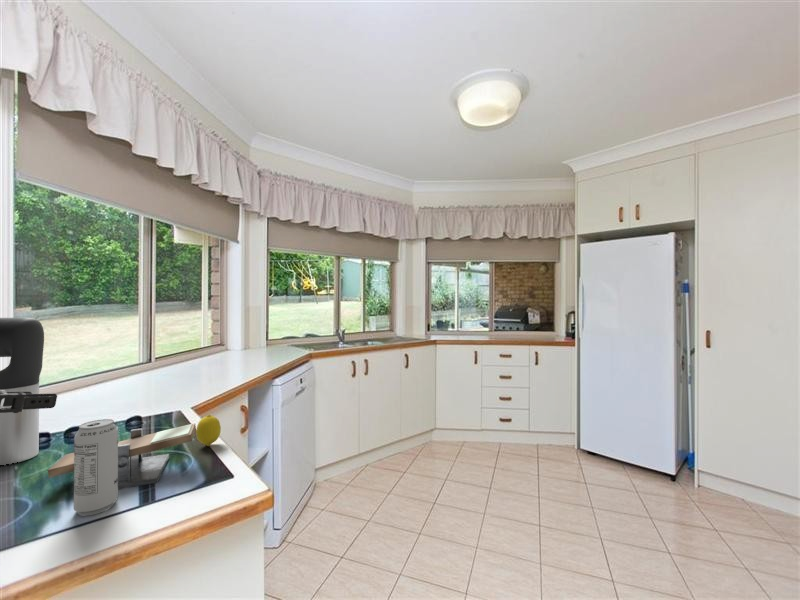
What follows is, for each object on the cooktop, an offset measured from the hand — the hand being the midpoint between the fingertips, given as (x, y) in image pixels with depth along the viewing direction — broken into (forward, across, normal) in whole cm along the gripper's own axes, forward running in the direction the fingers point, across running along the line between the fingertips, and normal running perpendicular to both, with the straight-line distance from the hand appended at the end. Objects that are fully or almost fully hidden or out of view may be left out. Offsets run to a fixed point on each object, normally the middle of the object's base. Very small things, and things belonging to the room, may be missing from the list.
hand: (42, 399), depth 59 cm
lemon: (+38, +8, +14) cm, 41 cm away
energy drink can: (+11, +1, +19) cm, 22 cm away
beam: (+20, +9, +12) cm, 25 cm away
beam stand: (+21, +9, +17) cm, 28 cm away
